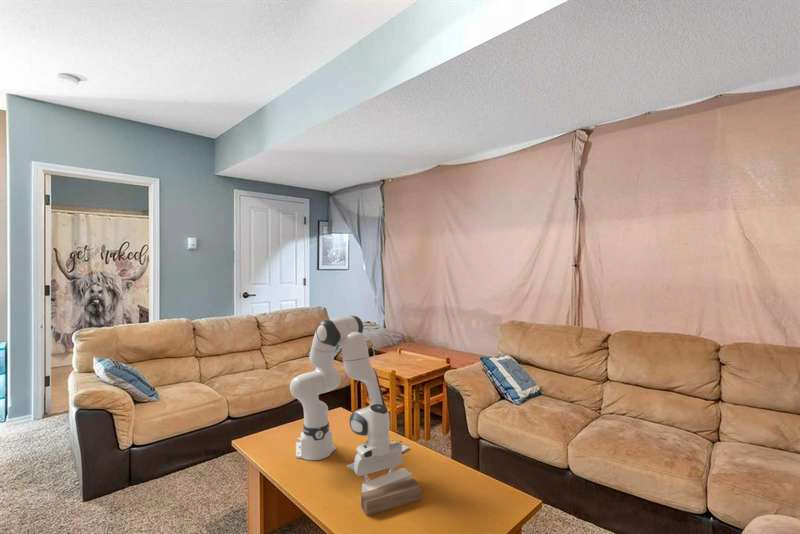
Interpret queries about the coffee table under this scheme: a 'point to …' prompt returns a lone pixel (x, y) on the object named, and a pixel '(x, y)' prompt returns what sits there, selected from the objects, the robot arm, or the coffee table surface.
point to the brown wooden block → (390, 496)
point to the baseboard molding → (404, 448)
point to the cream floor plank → (387, 480)
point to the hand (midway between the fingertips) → (378, 480)
